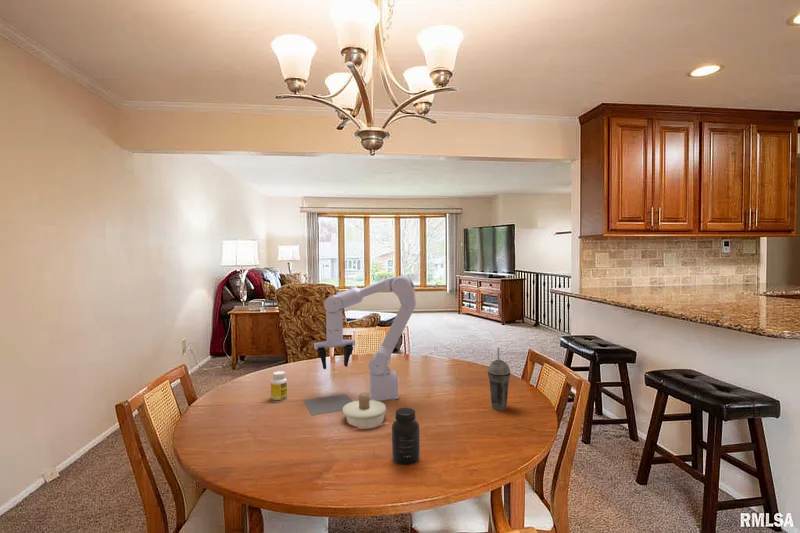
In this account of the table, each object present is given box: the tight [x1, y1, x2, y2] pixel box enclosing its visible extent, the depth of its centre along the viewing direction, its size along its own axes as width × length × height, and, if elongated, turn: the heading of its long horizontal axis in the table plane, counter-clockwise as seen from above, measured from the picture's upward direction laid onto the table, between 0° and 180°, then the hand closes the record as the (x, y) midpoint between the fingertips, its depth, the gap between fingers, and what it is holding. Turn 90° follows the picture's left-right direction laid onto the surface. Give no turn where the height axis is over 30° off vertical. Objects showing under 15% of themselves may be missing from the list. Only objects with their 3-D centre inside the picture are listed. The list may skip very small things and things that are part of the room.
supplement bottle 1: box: [270, 370, 288, 403], centre depth 142 cm, size 5×5×10 cm
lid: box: [342, 392, 387, 419], centre depth 124 cm, size 13×13×5 cm
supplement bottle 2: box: [391, 407, 421, 466], centre depth 101 cm, size 7×7×12 cm
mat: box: [303, 393, 353, 416], centre depth 137 cm, size 15×15×1 cm
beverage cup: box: [487, 347, 512, 411], centre depth 133 cm, size 7×7×20 cm
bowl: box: [346, 413, 385, 430], centre depth 124 cm, size 11×11×3 cm
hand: (335, 367), depth 146 cm, fingers open, 7 cm apart
